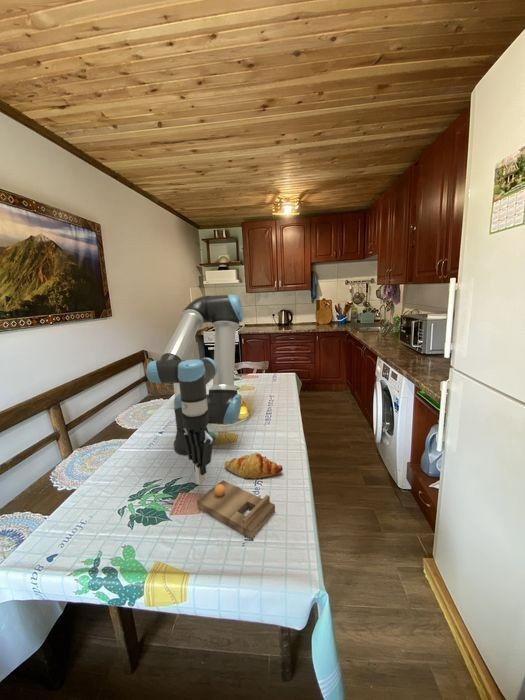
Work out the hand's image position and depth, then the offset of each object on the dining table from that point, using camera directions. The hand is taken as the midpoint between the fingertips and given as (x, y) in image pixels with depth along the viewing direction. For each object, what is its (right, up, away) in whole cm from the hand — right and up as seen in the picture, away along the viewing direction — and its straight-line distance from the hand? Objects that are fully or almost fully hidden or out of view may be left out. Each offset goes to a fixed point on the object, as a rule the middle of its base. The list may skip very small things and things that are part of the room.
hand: (201, 482), depth 89 cm
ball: (+6, 0, -4) cm, 8 cm away
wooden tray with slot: (+11, -5, -7) cm, 14 cm away
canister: (-21, +9, +72) cm, 75 cm away
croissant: (+16, -2, +11) cm, 19 cm away
